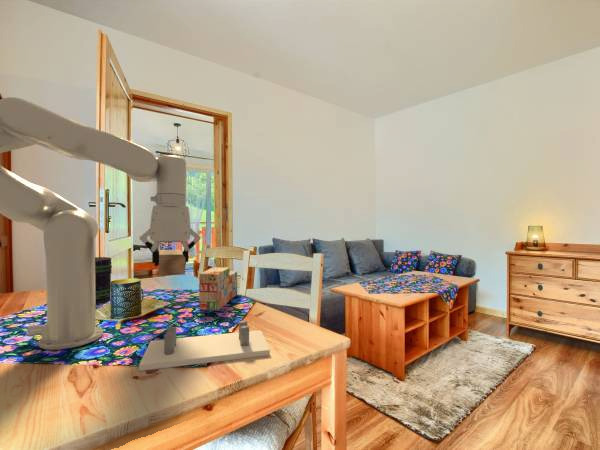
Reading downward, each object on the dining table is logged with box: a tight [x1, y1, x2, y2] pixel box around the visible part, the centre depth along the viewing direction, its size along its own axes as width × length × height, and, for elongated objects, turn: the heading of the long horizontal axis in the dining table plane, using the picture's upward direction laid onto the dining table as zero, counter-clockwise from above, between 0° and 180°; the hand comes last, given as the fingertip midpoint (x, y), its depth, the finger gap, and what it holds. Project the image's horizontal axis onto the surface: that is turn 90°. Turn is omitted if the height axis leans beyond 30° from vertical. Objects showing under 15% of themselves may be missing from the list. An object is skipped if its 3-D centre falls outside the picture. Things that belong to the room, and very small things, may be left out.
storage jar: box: [95, 256, 113, 304], centre depth 109 cm, size 10×10×15 cm
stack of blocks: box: [198, 266, 238, 312], centre depth 109 cm, size 21×6×12 cm, turn 174°
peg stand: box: [138, 320, 271, 372], centre depth 69 cm, size 26×12×5 cm, turn 106°
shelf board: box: [158, 249, 186, 277], centre depth 85 cm, size 6×22×4 cm, turn 25°
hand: (170, 264), depth 85 cm, fingers closed on shelf board, 6 cm apart
